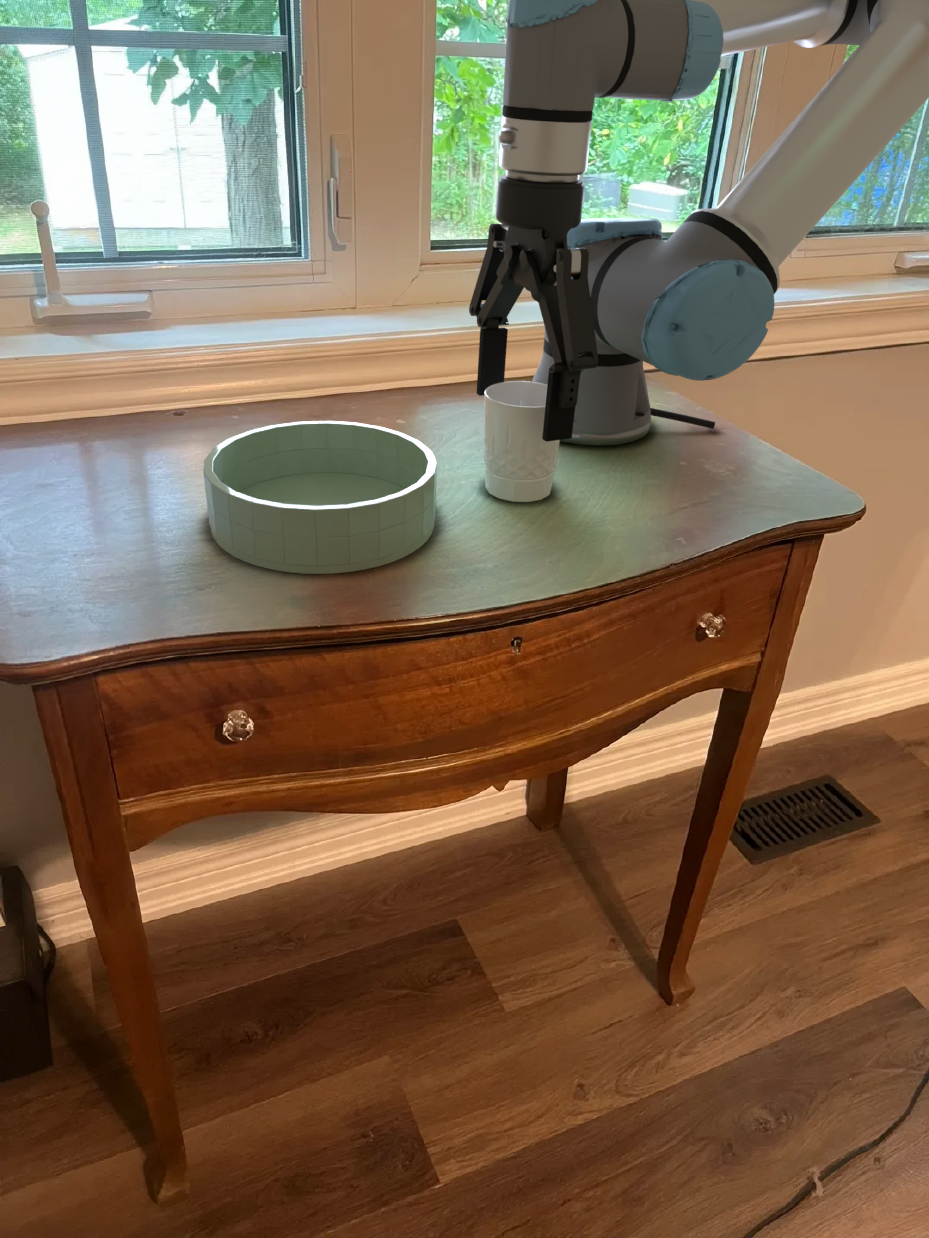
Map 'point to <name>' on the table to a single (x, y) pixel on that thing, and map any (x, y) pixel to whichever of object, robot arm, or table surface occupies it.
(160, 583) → the table surface
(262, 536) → the bowl
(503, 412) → the white cup
